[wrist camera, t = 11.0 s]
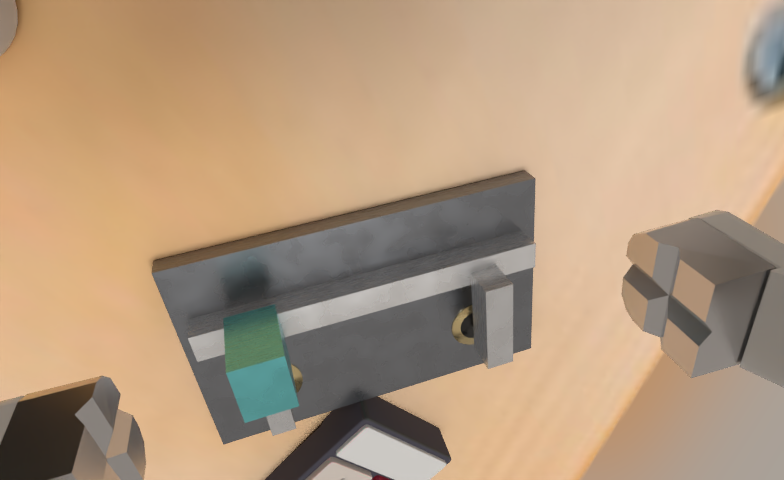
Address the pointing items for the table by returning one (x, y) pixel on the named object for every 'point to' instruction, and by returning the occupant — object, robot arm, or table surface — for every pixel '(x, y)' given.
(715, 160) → the table surface
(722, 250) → the robot arm
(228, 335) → the slider
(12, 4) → the energy drink can
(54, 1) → the table surface
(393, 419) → the calculator
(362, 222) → the hole plate
